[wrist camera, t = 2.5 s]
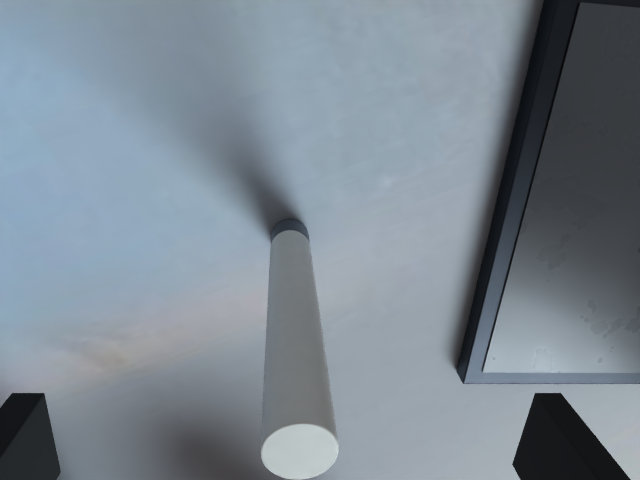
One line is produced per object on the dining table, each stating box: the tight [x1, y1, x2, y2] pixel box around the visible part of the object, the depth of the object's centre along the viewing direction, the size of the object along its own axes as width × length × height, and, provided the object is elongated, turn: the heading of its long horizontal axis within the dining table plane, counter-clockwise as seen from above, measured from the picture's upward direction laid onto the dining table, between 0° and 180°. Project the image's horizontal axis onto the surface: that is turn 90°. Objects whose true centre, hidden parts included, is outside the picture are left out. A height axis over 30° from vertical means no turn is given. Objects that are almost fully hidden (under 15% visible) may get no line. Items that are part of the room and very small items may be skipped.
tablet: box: [457, 0, 640, 384], centre depth 25 cm, size 22×16×1 cm
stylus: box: [260, 219, 339, 480], centre depth 18 cm, size 2×2×14 cm
